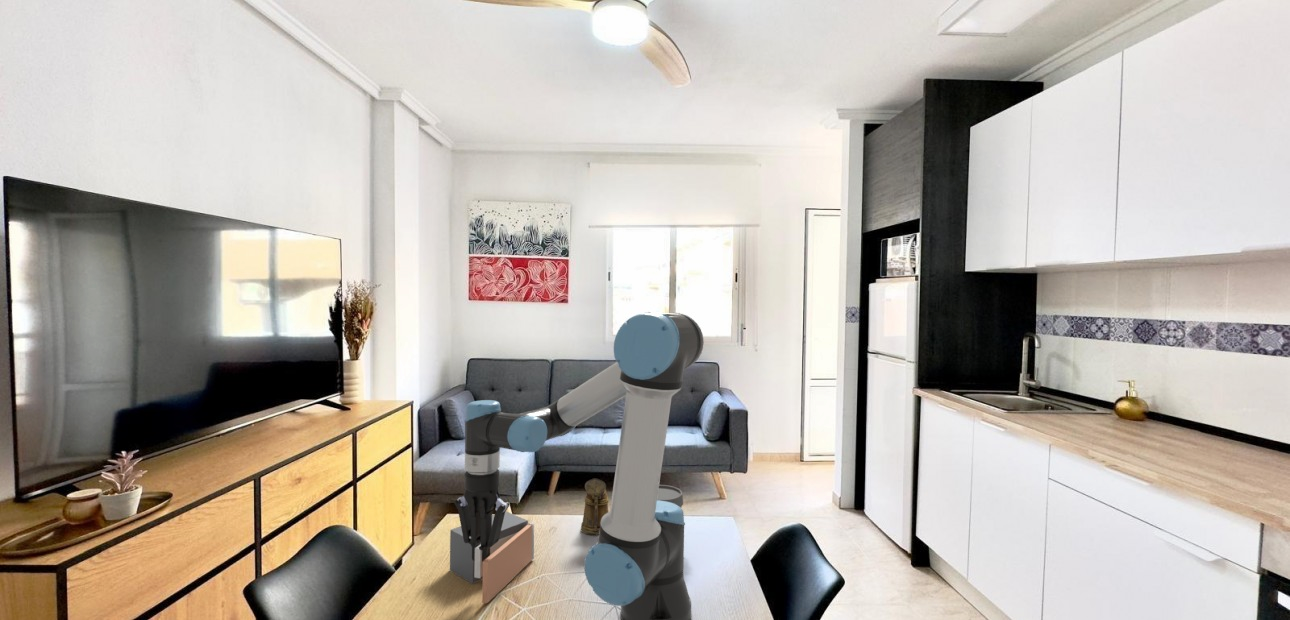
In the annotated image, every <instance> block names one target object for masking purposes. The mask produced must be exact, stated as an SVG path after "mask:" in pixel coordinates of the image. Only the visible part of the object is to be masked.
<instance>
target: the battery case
mask: <svg viewBox="0 0 1290 620" xmlns="http://www.w3.org/2000/svg"><path fill="white" fill-rule="evenodd" d="M494 516H495V514H494V513H493V514H492V524H493V520H494ZM528 523H529V520H528V519H525V518H522V517H521V516H518V515H515V514H514V513H511V512H508V511H506V512H505V515H504V520H503V524H502V528H501V532H500V536H499V541H498V542H497V543H496V544H494V545H493V546H492V547H490V555H491V554H492V553H494V552H495V551H496V550H497V549H499V548H500V547H501V546H502V545H503V544H505V543H506V542H507V541H508V540H510V539H511V538H512V537H513V536H514V535H516V534H517V533H518V532H519V531H520V530H522V529H523V528H524V527H525V526H527V525H528ZM449 532H450V533H449V534H450V536H449V537H450V539H449V542H450V543H449V571H450V572H452V573H454V574H455V575H457V576H458V577H461V578H462V579H464V580H465V581H467V582H468V583H471V585H474V584H476V583H478V582H481V581H483V576H482V577H481V578H475V577H474V573H475V561H474V560H472V546H471V544H469V543H465V542H464V539H463V534H462V528H461V525H460V526H458V527H457V526H456V527H455V528H451V529H450V531H449ZM480 544H481V542H480Z"/></svg>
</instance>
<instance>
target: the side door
mask: <svg viewBox="0 0 1290 620" xmlns="http://www.w3.org/2000/svg"><path fill="white" fill-rule="evenodd" d="M534 559H535V522H528V525H527V526H525V527H524V528H523V529H522V530H520V531H519V532H518V533H517V534H516V535H514V536H513V537H512V538H511V539H510V540H508V541H507V542H506V543H505V544H503V545H502V546H501V547H500V548H499V549H497V550H496V551H495V552H494V553H492V554H491V555H490V556H489V557H488V558H486V559H485V560H484V561H483V580H482V591H481V593H482V598H481V599H482V600H481V603H483V604H488V603H490V601H491V600H493V598H495V596H496V595H498V593H500V592H501V591H502V590H503V589H504V588H505V587H506V586H507V585H508V584H509V583H510V582H511V581H512V580H513V579H514V578H516V576H517V575H518V574H519V573H521V571H523V569H524V568H525V567H527V565H529V563H530V562H532V561H533V560H534Z"/></svg>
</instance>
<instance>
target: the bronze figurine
mask: <svg viewBox="0 0 1290 620" xmlns="http://www.w3.org/2000/svg"><path fill="white" fill-rule="evenodd" d="M584 489H585V491H586V493H585V494H586V495H585V496H584V497H585V498H584V503H585V504H584V509H583V510H584V511H583V516H582V522H581V526H580V531H581V532H582V533H583V534H585V535H588V536H599V530H600V523H601V519H602V517H603V516H604V515H605V514H606V513H608V512H609V505H608V504H609V497H608V494H607V492H608V491H607V485H606V483H605V481H603V480H602V479H599V478H596V477H593V478H592V479H589V480H587V481H585V484H584Z"/></svg>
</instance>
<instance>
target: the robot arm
mask: <svg viewBox="0 0 1290 620" xmlns="http://www.w3.org/2000/svg"><path fill="white" fill-rule="evenodd" d="M614 338H615V339H614V341H613V357H614V360H615V361H616V362H615V363H613V364H611V365H610V366H608V367H607V368H605V369H603V370H602V371H600V372H599V373H598V374H597V373H596V375H594V376H593V377H592V378H589V379H588V380H587V381H585V382H583V383H582V384H580V385H579V386H577V387H576V388H574V389H572V390H570V391H569V392H568V393H567V394H564V395H563V396H561V397H560V398H559V399H557V400H555V401H554V402H552V403H551V404H549V405H547V406H544V407H540V408H537V409H534V410H529V411H524V412H520V413H507V412H502V409H501V404H500V402H499V401H497V400H495V399H494V400H492V399H482V400H475V401H471V402H469V403H467V405H466V407H465V416H464V417H465V418H464V429H465V430H464V432H465V433H464V471H465V473H464V480H463V481H464V482H463V483H464V489H465V491H464V493H463V496H460V497H458V498H457V499H455V500H454V505H455V508H456V509H457V513H458V516H459V517H458V519H459V522H460V526H461V528H462V534H463V539H464V542H465V543H469V544H471V546H472V560H474V561H475V573H474V577H475V578H481V577H482V576H483V561H484V560H485V559H486V558H488V557H489V556H490V547H492V546H493V545H494V544H496V543H497V542H498V541H499V536H500V532H501V528H502V524H503V520H504V515H505V512H507V510H508V508H509V507H510V502H509V501H505V502H504V501H503V499H501V495H500V492H499V487H500V464H501V463H500V462H501V460H500V459H501V457H500V452H501V449H507V450H511V451H516V452H520V453H535V452H538V451H539V450H540V449H541V447H542V446H544V445H545V443H546V441H549V440H552V439H556V438H559V437H563V436H565V435H568V434H569V433H571V432H573V431H574V430H575V428H576V426H579V425H580V424H582V423H583V422H585V421H587V420H588V419H590V418H591V417H594V416H595V415H596V414H598V413H600V412H603V410H605V409H607V408H608V407H610V406H612V405H614V404H615V403H616V402H618V401H620V400H622V399H623V398H625V400H624V407H623V414H622V421H621V422H622V423H621V427H620V428H621V430H620V437H619V443H618V450H617V459H616V466H615V473H614V479H613V485H612V486H613V487H612V494H611V503H610V509H609V510H608V513H606V514H605V515H604V516H603V517H602V519H601V523H600V530H599V535H598V536H597V543H596V544H594V545H592V547H590V549H589V551H588V552H587V553H586V555H585V558H584V575H585V578H586V581H587V583H588V584H589V586H590V587H591V589H592V591H593V592H594V594H595V595H597V597H599V598H600V599H601V600H602V601H604V602H605V603H607V604H609V605H612V606H615V607H616V606H617V607H618V606H619V607H620V615H621V617H623V618H622V619H623V620H691V617H692V600H691V597H690V595H689V592H688V591H689V590H688V587H687V585H686V581H685V577H684V576H685V575H684V567H685V566H684V565H685V564H684V560H685V557H684V555H685V554H684V553H685V552H684V551H685V525H686V523H685V514H684V510H683V508H681V507H679V506H678V505H676V504H674V503H671V502H666V501H660V500H657V497H658V490H659V485H660V482H661V481H660V480H661V473H662V466H663V461H664V453H665V446H666V438H667V432H668V426H669V417H670V410H671V406H672V405H671V403H672V398H673V397H674V395H675V394H677V393H678V392H679V391H681V389H682V384H683V379H684V378H683V377H684V372H685V371H684V370H686V369H687V368H690V367H691V366H693V365H694V364H695V363H696V362H697V361H698V359H699V358H700V357H701V355H702V353H703V349H704V341H705V340H704V334H703V332H702V329H701V327H700V325H699V324H698V323H697V322H696V321H695V320H694V319H693V318H692V317H690V316H689V315H687V314H684V313H680V312H658V311H648V312H647V311H646V312H644V313H638V314H636V315H633V316H631V317H629V318H628V319H626V320H625V321H624V323H623V324H622V325H621V326H620V327H619V329H618V330H617V333H616V334H615V337H614ZM494 508H495V516H494V520H493V524H492V515H494ZM480 542H481V544H480Z"/></svg>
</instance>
